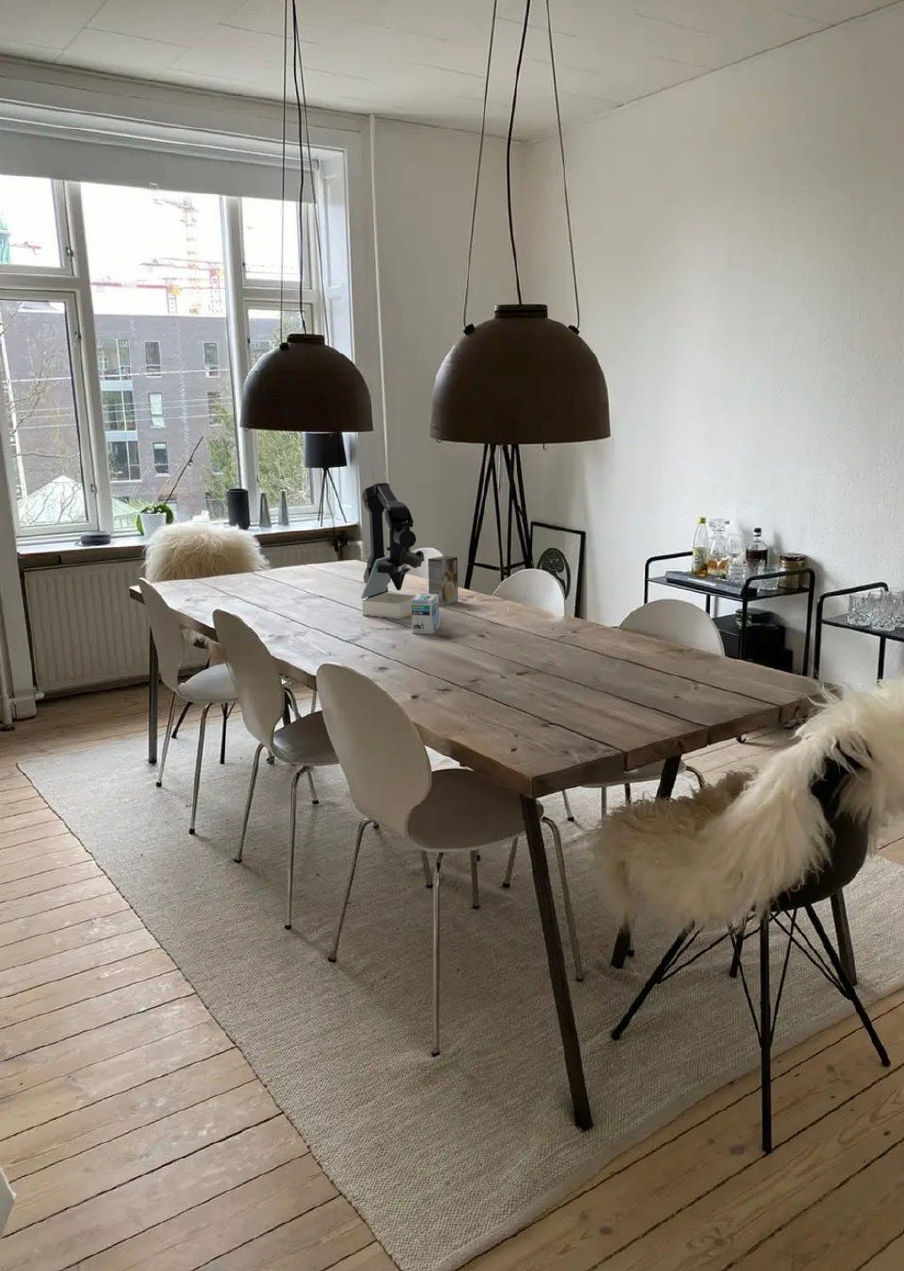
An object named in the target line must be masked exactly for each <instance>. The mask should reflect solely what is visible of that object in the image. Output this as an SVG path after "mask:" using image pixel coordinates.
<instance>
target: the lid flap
mask: <svg viewBox="0 0 904 1271" xmlns="http://www.w3.org/2000/svg"><path fill="white" fill-rule="evenodd" d="M388 559H390V555H388V556H385V557H384V558H380V559H377V560H376V561H375V564H374V566H373V569H372V571H371V574H370V576H369V579H368V581H367V584H366V583H365V587H364V589H363V592H362V595H361V597H360V598H361V599H362V600H364V599H366V598H368V597H369V596H372V595H375V594H378V593H381V592H384V591H385V590H386V588H387V587H389V586H388V585H389V584H390V583H389V581H390V582H391V580H390V576H389V574H388V573H378V572H377V566H378V565H379V564H381V563H384V562H385V563H387V560H388Z"/></svg>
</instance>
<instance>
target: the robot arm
mask: <svg viewBox="0 0 904 1271" xmlns="http://www.w3.org/2000/svg"><path fill="white" fill-rule="evenodd" d="M361 496H362V497H361V498H362V502H363V505H364V508H365V510H366V512H367V513H368V515H369V516H368V518H369V534H370V535H369V538H370V540H369V541H370V556H369V558H368V560H367V561H366V568H365V571H364V573H363V583H364V584H365V585H366V584H367V581H368V579H369V576H370V574H371V571H372V569H373V566H374V564H375V561H376V560H377V559H380V558H384V557H386V555H385V542H384V523H383V522H384V520H383V513H384V518H385V521H386V523H387V526H388V527H387V528H388V541H389V542H388V543H389V546H387V547H386V551H389V556H390V559H388V560H387V563H385V562H384V563H381V564H379V565H378V566H377V572H378V573H388V574H389V576H390V581H389V583H388V584H390V583H391V581H392V583H393V586H394V587H395V589H396V591H401V590H402V586H403V582H404V581H405V580H404V579H405V578H406V574H407V573H408V572H409V571H411V570H412V568H413V569H417V568H418V567H422V563H423V562H425V556H424V554H425V553H424V551H422V550H418V551H417V552H412V551H411V549H410V548H412V547H414V545H415V544H416V542H417V536H416V534H415V533H414V532H413V531H412V530H411V528H413V527H414V525H413V524H414V520H413V516H412V512H411V511H410V509H409V508H408V506H407V505H406V504H405V503H404V502H401V501H398V499H397V497H396V496H395V494H394V493H393V491H392V489H391V487H390V484H389V483H387V482H376V483H374V484H373V485H371V486H368V487H366V488H364V490H363V492H362V495H361ZM408 566H410V567H411V568H409V567H408ZM386 592H388V593H389V586H387V588H386V590H385V591H384V592H381V593H378V594H375V595H372V596H369V597H366V598H365V600H366V599H369V598H372V597H375V596H377V595H380V594H383V593H386Z"/></svg>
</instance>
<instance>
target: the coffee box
mask: <svg viewBox="0 0 904 1271" xmlns="http://www.w3.org/2000/svg"><path fill="white" fill-rule="evenodd" d="M427 560H428V564H427V565H428V594H439V606H442V607H443V606H447V605H450V604H453V603H457V602H458V601H459V587H458V586H459V583H458V582H459V580H458V574H459V573H458V566H459V565H458V556H450V555H440V556H436V557H431V558H428V559H427Z"/></svg>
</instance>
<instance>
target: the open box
mask: <svg viewBox="0 0 904 1271" xmlns="http://www.w3.org/2000/svg"><path fill="white" fill-rule="evenodd" d="M417 595H418V594H410V593H409V594H408V593H400V592H399V593H397V592H389V591H388V592H386V593H383V594H380V595H377V596H375V597H372V598H369V599H366V598H365V599H362V601H361V602H362V616H363V615H369V616H368V617H372V616H378V617H377V618H382V617H386V618H385V619H392V618H395V619H394V620H401V619H403V617H404V618H407V617H408V615H409V616H412V603H411V600H412V599H413V598H414V597H415V596H417Z"/></svg>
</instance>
